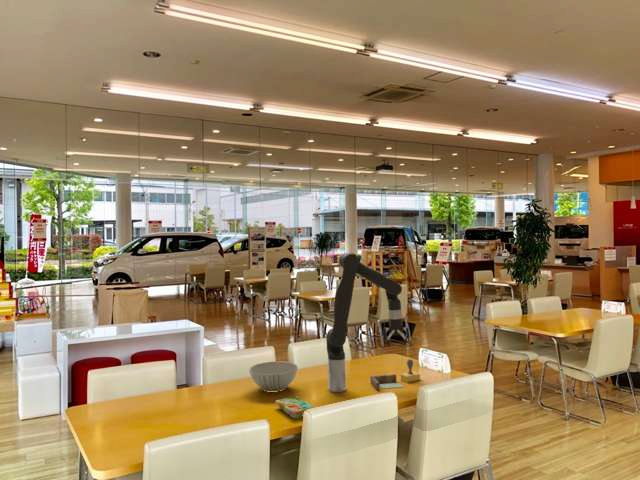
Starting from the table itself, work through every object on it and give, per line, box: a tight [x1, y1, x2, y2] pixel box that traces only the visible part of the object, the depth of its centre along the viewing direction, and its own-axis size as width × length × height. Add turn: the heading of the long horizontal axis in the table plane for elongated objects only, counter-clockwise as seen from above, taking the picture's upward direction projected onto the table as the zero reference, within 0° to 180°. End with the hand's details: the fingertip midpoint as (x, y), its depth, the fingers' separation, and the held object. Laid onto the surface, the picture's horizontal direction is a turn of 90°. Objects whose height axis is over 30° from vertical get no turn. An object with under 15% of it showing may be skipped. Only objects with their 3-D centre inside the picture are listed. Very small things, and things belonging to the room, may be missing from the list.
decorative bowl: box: [249, 360, 299, 392], centre depth 279 cm, size 27×27×12 cm
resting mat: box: [379, 382, 404, 390], centre depth 280 cm, size 12×8×1 cm, turn 98°
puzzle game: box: [274, 395, 315, 419], centre depth 244 cm, size 12×5×20 cm
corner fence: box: [370, 373, 397, 391], centre depth 280 cm, size 15×14×4 cm
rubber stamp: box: [400, 358, 421, 384], centre depth 289 cm, size 10×6×12 cm, turn 119°
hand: (397, 345), depth 286 cm, fingers open, 8 cm apart
